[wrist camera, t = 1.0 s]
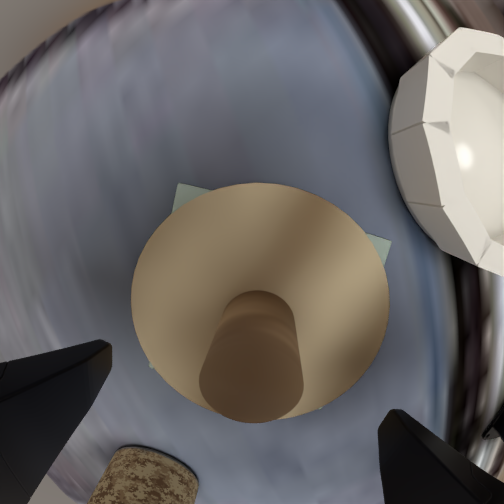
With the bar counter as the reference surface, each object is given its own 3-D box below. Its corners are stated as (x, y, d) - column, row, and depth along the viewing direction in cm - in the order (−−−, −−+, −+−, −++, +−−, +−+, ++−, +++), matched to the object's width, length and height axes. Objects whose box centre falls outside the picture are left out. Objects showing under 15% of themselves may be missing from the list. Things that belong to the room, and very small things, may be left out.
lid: (414, 226, 12) (486, 251, 7) (330, 422, 15) (343, 494, 9) (163, 157, 12) (96, 141, 7) (132, 373, 15) (89, 435, 10)
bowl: (533, 114, 10) (572, 108, 6) (508, 276, 13) (549, 297, 9) (399, 25, 10) (429, -11, 6) (361, 222, 13) (395, 236, 9)
